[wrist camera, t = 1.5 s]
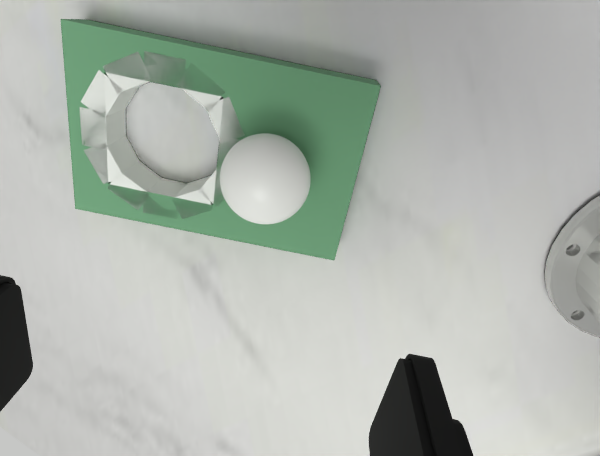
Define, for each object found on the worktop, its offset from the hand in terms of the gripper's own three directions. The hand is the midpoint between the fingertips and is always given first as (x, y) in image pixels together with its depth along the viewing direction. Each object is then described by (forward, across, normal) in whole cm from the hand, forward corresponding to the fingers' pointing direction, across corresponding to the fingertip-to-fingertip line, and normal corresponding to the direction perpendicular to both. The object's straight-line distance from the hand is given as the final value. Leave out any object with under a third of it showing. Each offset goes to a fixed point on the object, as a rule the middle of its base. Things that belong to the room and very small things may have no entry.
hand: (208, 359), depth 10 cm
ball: (+13, 0, 0) cm, 13 cm away
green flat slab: (+18, +3, 0) cm, 18 cm away
